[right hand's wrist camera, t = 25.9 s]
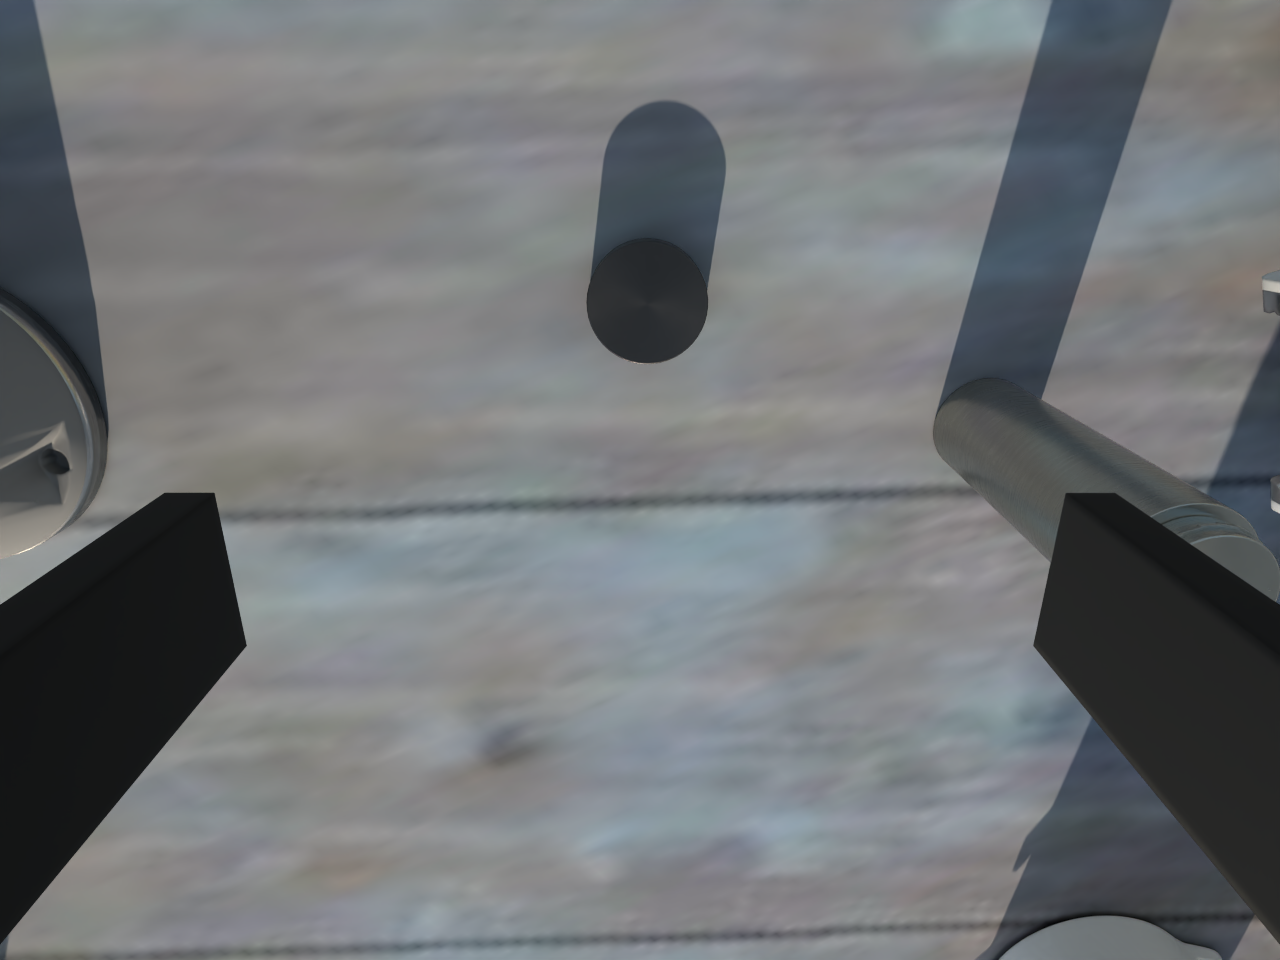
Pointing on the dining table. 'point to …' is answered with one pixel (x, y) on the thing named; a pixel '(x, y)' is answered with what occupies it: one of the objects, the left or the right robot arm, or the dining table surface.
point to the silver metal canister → (1080, 476)
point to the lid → (647, 301)
